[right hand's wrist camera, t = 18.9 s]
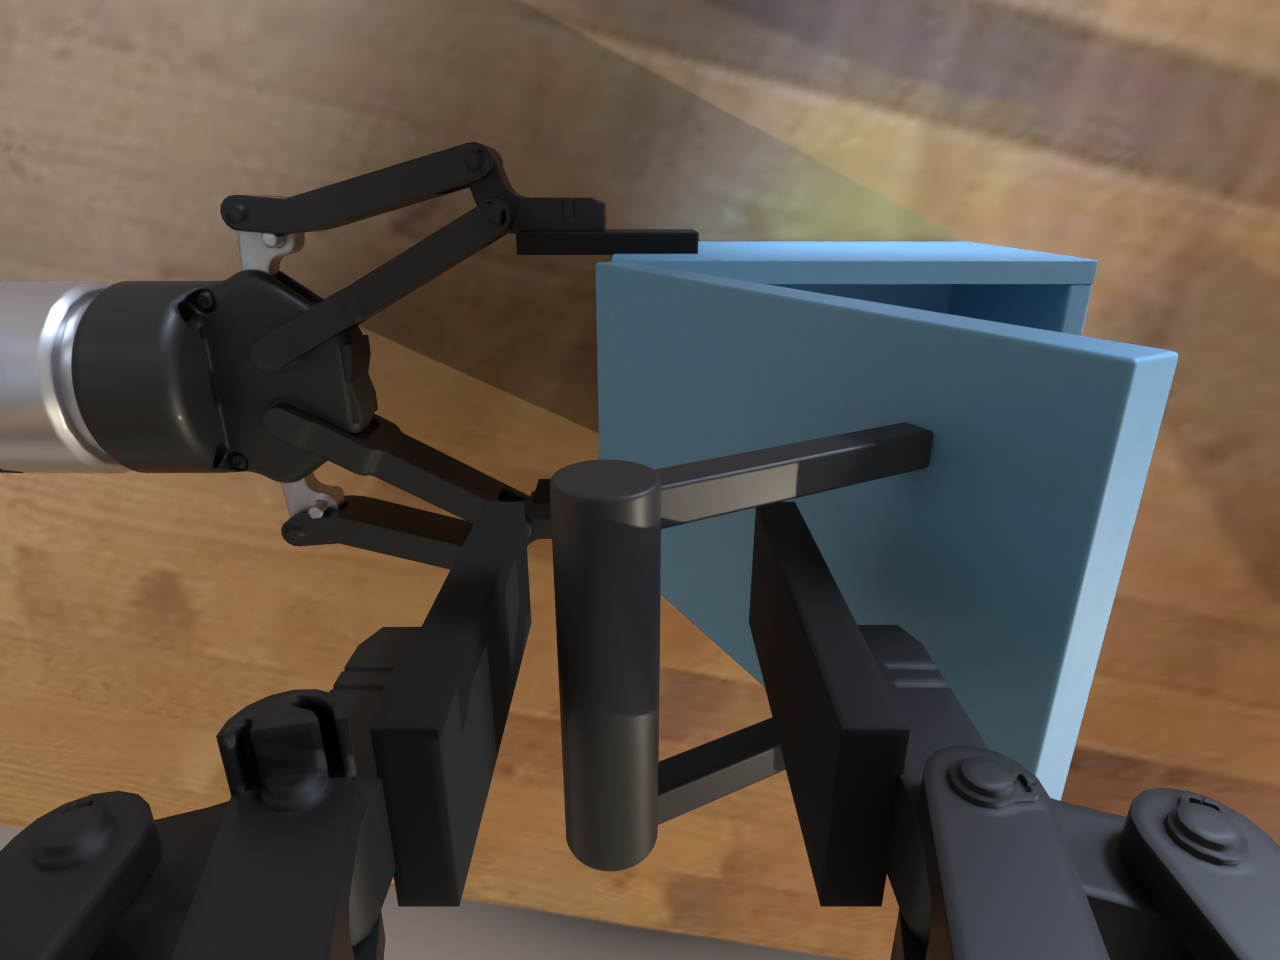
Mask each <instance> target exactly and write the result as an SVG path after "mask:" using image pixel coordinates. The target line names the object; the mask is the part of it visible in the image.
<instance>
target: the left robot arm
mask: <svg viewBox="0 0 1280 960" xmlns="http://www.w3.org/2000/svg"><path fill="white" fill-rule="evenodd" d="M469 187H470V190H471V192H472V195H473V197H474V199H475V202H476V204H477V207H475V208H474V209H472V210H471V211H469V212H467V213H466V214H464V215H462V216H461V217H459V218H458V219H456V220H454V221H453V222H451V223H450V224H448V225H446V226H445V227H443V228H441V229H440V230H438V231H437V232H435V233H433V234H432V235H430V236H429V237H427V238H425V239H424V240H422V241H421V242H419V243H417V244H416V245H414V246H412V247H411V248H409V249H408V250H406V251H404V252H403V253H401V254H400V255H398V256H396V257H395V258H393V259H391V260H390V261H388V262H387V263H385V264H383V265H382V266H380V267H379V268H377V269H375V270H374V271H372V272H371V273H369V274H367V275H366V276H364V277H362V278H361V279H359V280H358V281H356V282H354V283H353V284H351V285H350V286H348V287H346V288H344V289H342V290H340V291H338V292H336V293H335V294H333V295H331V296H329V297H328V298H326V299H325V300H324V299H322V298H321V297H319V296H318V295H316V294H315V293H313V292H312V291H310V290H309V289H307V288H306V287H304V286H303V285H301V284H300V283H298V282H297V281H295V280H294V279H292V278H291V277H289V276H288V275H286V274H284V273H283V272H281V271H279V264H280V261H281V260H282V258H283V257H284V256H286V255H288V254H292V253H297V252H298V251H300V250H301V249H302V248H303V246H304V243H305V234H304V232H313V231H321V230H328V229H332V228H336V227H340V226H343V225H346V224H350V223H353V222H356V221H360V220H363V219H366V218H370V217H373V216H376V215H379V214H383V213H386V212H389V211H393V210H396V209H399V208H403V207H406V206H409V205H413V204H416V203H419V202H423V201H426V200H429V199H433V198H436V197H439V196H442V195H446V194H449V193H452V192H456V191H459V190H462V189H466V188H469ZM220 212H221V215H222V219H223V220H224V221H225V223H226V224H227V225H228V226H229V227H231V228H232V229H234V230H238V240H239V249H240V258H241V267H242V271H240V272H238V273H236V274H235V275H233V276H232V277H230V278H229V279H227V280H225V281H126V282H120V283H116V284H113V285H112V284H108V283H105V282H101V281H31V282H0V473H4V472H5V473H24V472H31V473H125V472H128V471H130V470H133V471H137V472H143V473H226V472H242V471H248V472H254V473H258V474H261V475H264V476H266V477H268V478H270V479H272V480H274V481H278V482H281V484H282V488H283V491H284V495H285V499H286V502H287V506H288V510H289V513H290V519H289V520H288V521H287V522H286V523H285V524H283V526H282V529H281V532H282V536H283V538H284V540H286V541H287V542H288V543H289V544H291V545H293V546H309V545H322V544H336V543H340V544H344V545H349V546H353V547H357V548H361V549H366V550H370V551H374V552H378V553H383V554H387V555H391V556H395V557H400V558H404V559H408V560H412V561H417V562H421V563H425V564H429V565H433V566H438V567H442V568H446V569H450V570H451V568H452V566H453V564H454V562H455V560H456V558H457V556H458V554H459V552H460V550H461V548H462V546H463V544H464V542H465V540H466V538H467V536H468V534H469V532H470V530H471V528H472V526H473V524H474V522H475V520H476V519H477V517H478V515H479V513H480V511H481V509H482V507H483V505H484V503H485V502H524V511H525V527H526V543H527V546H528V545H529V544H530V543H531V542H533V541H534V540H537V539H552V524H551V502H550V481H551V479H539V481H538V484H537V487H536V490H535V492H534V491H532V494H531V495H530V496H528V495H526V494H524V493H522V492H520V491H518V490H516V489H514V488H512V487H510V486H508V485H506V484H504V483H502V482H500V481H498V480H496V479H494V478H492V477H490V476H488V475H486V474H484V473H482V472H480V471H478V470H476V469H474V468H472V467H470V466H468V465H466V464H464V463H462V462H460V461H458V460H456V459H454V458H452V457H450V456H448V455H446V454H444V453H442V452H440V451H438V450H436V449H434V448H432V447H430V446H428V445H426V444H424V443H422V442H420V441H418V440H416V439H414V438H412V437H410V436H408V435H406V434H404V433H402V432H401V431H400V429H399V427H398V426H397V425H395V424H394V423H392V422H390V421H388V420H386V419H384V418H382V417H380V416H378V415H376V414H374V412H375V411H376V410H377V409H378V406H377V399H376V391H375V389H374V386H373V384H372V382H371V379H370V377H369V374H368V369H369V362H370V355H371V353H370V345H369V338H368V335H363V334H362V332H361V330H360V328H359V327H358V325H359V324H361V323H362V322H364V321H366V320H367V319H369V318H371V317H372V316H374V315H376V314H377V313H379V312H380V311H382V310H384V309H385V308H386V307H388V306H389V305H391V304H393V303H394V302H396V301H398V300H399V299H401V298H403V297H404V296H406V295H408V294H409V293H411V292H412V291H414V290H416V289H417V288H419V287H421V286H422V285H424V284H426V283H427V282H429V281H431V280H432V279H434V278H436V277H437V276H439V275H440V274H442V273H444V272H445V271H447V270H449V269H450V268H452V267H454V266H455V265H457V264H459V263H460V262H462V261H464V260H465V259H467V258H468V257H470V256H472V255H473V254H475V253H477V252H478V251H480V250H482V249H483V248H485V247H487V246H488V245H490V244H491V243H493V242H495V241H496V240H498V239H500V238H501V237H503V236H505V235H506V234H508V233H516V245H517V255H614V254H698V232H696V231H695V230H693V229H626V230H606V211H605V203H603V202H601V201H598V200H596V199H594V198H528V197H524V196H521V195H519V194H518V193H517V192H515V190H514V189H513V188H512V187H511V185H510V183H509V180H508V178H507V175H506V173H505V170H504V168H503V163H502V158H501V156H500V154H499V153H498V152H497V151H496V150H495V149H493V148H490V147H488V146H485V145H482V144H479V143H476V142H471V143H466V144H462V145H459V146H456V147H453V148H449V149H446V150H443V151H440V152H436V153H433V154H430V155H427V156H423V157H420V158H417V159H414V160H410V161H407V162H404V163H401V164H397V165H394V166H391V167H387V168H384V169H381V170H378V171H374V172H371V173H368V174H365V175H361V176H358V177H355V178H352V179H348V180H345V181H342V182H339V183H335V184H332V185H329V186H326V187H322V188H319V189H316V190H313V191H309V192H306V193H303V194H300V195H296V196H293V197H283V196H271V195H233V196H228V197H227V198H225V199H224V200H223V202H222V204H221V211H220ZM326 461H330V462H333V463H335V464H337V465H339V466H341V467H343V468H345V469H347V470H349V471H351V472H353V473H356V474H358V475H363V476H365V475H371V476H375V477H377V478H379V479H381V480H383V481H385V482H388V483H390V484H392V485H394V486H396V487H398V488H400V489H402V490H404V491H406V492H408V493H410V494H412V495H414V496H417V497H419V498H421V499H423V500H425V501H427V502H429V503H431V504H433V505H435V506H437V507H439V508H441V509H443V510H446V511H448V512H450V513H452V514H454V515H456V516H458V517H460V518H462V519H464V520H461V519H457V518H453V517H449V516H445V515H440V514H436V513H432V512H428V511H424V510H420V509H416V508H412V507H408V506H403V505H399V504H395V503H391V502H387V501H383V500H379V499H375V498H370V497H364V496H354V495H350V496H344V495H343V494H344V492H343V489H342V488H340V487H339V486H330V485H325V484H323V483H321V482H319V481H318V480H317V479H316V478H315V476H314V474H313V471H315V470H316V469H317V468H318V467H320V466H321V465H322V464H324V463H325V462H326ZM465 520H466V521H465Z"/></svg>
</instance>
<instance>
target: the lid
mask: <svg viewBox="0 0 1280 960" xmlns="http://www.w3.org/2000/svg"><path fill="white" fill-rule="evenodd" d="M595 269H596V317H597V366H598V414H599V460H591V461H585V462H580V463H576V464H572V465H569V466H566V467H564V468H562V469H560V470H558V471H557V472H555V474H554V475H553V476H552V478H551V481H550V502H551V524H552V545H553V566H554V587H555V608H556V630H557V651H558V672H559V693H560V715H561V736H562V757H563V778H564V799H565V821H566V838H567V843H568V846H569V848H570V850H571V851H572V853H573V854H574V856H575V857H576V858H577V859H578V860H579V861H581V862H582V863H583V864H585V865H586V866H589V867H591V868H594V869H597V870H601V871H619V870H624V869H628V868H630V867H633V866H635V865H636V864H638V863H640V862H641V861H642V860H644V859H645V858H646V857H647V856H648V854H649V853H650V852H651V850H652V848H653V847H654V845H655V842H656V839H657V832H658V825H659V824H661V823H663V822H666V821H668V820H670V819H673V818H675V817H677V816H680V815H682V814H684V813H686V812H689V811H691V810H693V809H696V808H698V807H700V806H703V805H705V804H707V803H710V802H712V801H714V800H716V799H719V798H721V797H723V796H726V795H728V794H730V793H733V792H735V791H737V790H739V789H742V788H744V787H746V786H749V785H751V784H753V783H756V782H758V781H760V780H762V779H765V778H767V777H769V776H772V775H774V774H776V773H779V772H781V771H783V770H785V769H786V767H785V764H784V760H783V756H782V752H781V748H780V744H779V740H778V736H777V732H776V728H775V724H774V720H773V717H772V718H770V719H767V720H764V721H762V722H759V723H757V724H754V725H752V726H749V727H747V728H744V729H741V730H739V731H736V732H734V733H731V734H729V735H726V736H724V737H721V738H718V739H716V740H713V741H711V742H708V743H706V744H703V745H701V746H698V747H695V748H693V749H690V750H688V751H685V752H683V753H680V754H678V755H675V756H672V757H670V758H667V759H665V760H662V761H660V762H658V750H659V665H660V594H661V595H662V596H663V597H664V598H666V599H667V600H668V601H669V602H670V603H671V604H672V605H673V606H674V607H676V608H677V609H678V610H679V611H680V612H681V613H682V614H683V615H685V616H686V617H687V618H688V619H689V620H690V621H691V622H692V623H693V624H695V625H696V626H697V627H698V628H699V629H700V630H701V631H702V632H704V633H705V634H706V635H707V636H708V637H709V638H710V639H711V640H712V641H714V642H715V643H716V644H717V645H718V646H719V647H720V648H721V649H723V650H724V651H725V652H726V653H727V654H728V655H729V656H730V657H731V658H733V659H734V660H735V661H736V662H737V663H738V664H739V665H740V666H742V667H743V668H744V669H745V670H746V671H747V672H748V673H749V674H750V675H752V676H753V677H754V678H755V679H756V680H757V681H758V682H759V683H761V684H762V685H763V686H764V687H765V685H764V681H763V677H762V673H761V669H760V665H759V661H758V657H757V653H756V650H755V646H754V642H753V638H752V634H751V630H750V626H749V609H750V592H751V576H752V560H753V543H754V527H755V511H756V507H760V506H764V505H769V504H773V503H777V502H795V503H796V505H797V507H798V509H799V511H800V513H801V515H802V517H803V519H804V520H805V522H806V524H807V526H808V528H809V530H810V532H811V534H812V536H813V538H814V540H815V542H816V544H817V546H818V548H819V550H820V552H821V554H822V556H823V558H824V560H825V562H826V564H827V566H828V568H829V570H830V572H831V574H832V576H833V578H834V580H835V582H836V584H837V586H838V588H839V590H840V592H841V594H842V596H843V598H844V600H845V602H846V604H847V605H848V607H849V609H850V611H851V613H852V615H853V617H854V619H855V621H856V623H857V625H898V626H900V627H901V628H902V629H904V630H905V631H906V632H908V633H909V634H910V635H912V636H913V637H914V638H916V639H917V640H918V641H920V642H921V643H922V644H923V645H924V647H925V649H926V650H927V652H928V653H929V655H930V657H931V658H932V660H933V661H934V663H935V665H936V669H939V671H940V672H941V674H942V676H943V677H944V679H945V680H946V682H947V687H950V688H951V690H952V692H953V693H954V695H955V696H956V698H957V699H958V701H959V703H960V704H961V706H962V707H963V709H964V711H965V712H966V714H967V715H968V717H969V719H970V720H971V722H972V723H973V725H974V726H975V728H976V730H977V731H978V733H979V734H980V736H981V738H982V739H983V741H984V742H985V744H986V746H987V747H988V749H989V750H993V751H996V752H999V753H1001V754H1003V755H1005V756H1007V757H1009V758H1011V759H1013V760H1015V761H1017V762H1019V763H1020V764H1021V765H1023V766H1024V767H1025V768H1026V769H1027V770H1029V771H1030V772H1031V773H1032V774H1033V775H1035V776H1036V777H1037V778H1038V779H1039V781H1040V782H1041V784H1042V786H1043V787H1044V789H1045V790H1046V792H1047V793H1048V795H1049V797H1050V798H1053V799H1056V800H1059V801H1061V797H1062V793H1063V789H1064V786H1065V782H1066V778H1067V774H1068V771H1069V767H1070V763H1071V759H1072V756H1073V752H1074V748H1075V744H1076V741H1077V737H1078V733H1079V729H1080V726H1081V722H1082V718H1083V714H1084V710H1085V707H1086V703H1087V699H1088V695H1089V692H1090V688H1091V684H1092V680H1093V677H1094V673H1095V669H1096V665H1097V662H1098V658H1099V654H1100V650H1101V647H1102V643H1103V639H1104V635H1105V632H1106V628H1107V624H1108V620H1109V616H1110V613H1111V609H1112V605H1113V601H1114V598H1115V594H1116V590H1117V586H1118V583H1119V579H1120V575H1121V571H1122V568H1123V564H1124V560H1125V556H1126V553H1127V549H1128V545H1129V541H1130V538H1131V534H1132V530H1133V526H1134V523H1135V519H1136V515H1137V511H1138V507H1139V504H1140V500H1141V496H1142V492H1143V489H1144V485H1145V481H1146V477H1147V474H1148V470H1149V466H1150V462H1151V459H1152V455H1153V451H1154V447H1155V444H1156V440H1157V436H1158V432H1159V429H1160V425H1161V421H1162V417H1163V414H1164V410H1165V406H1166V402H1167V398H1168V395H1169V391H1170V387H1171V383H1172V380H1173V376H1174V372H1175V368H1176V365H1177V361H1178V353H1176V352H1174V351H1171V350H1165V349H1159V348H1153V347H1147V346H1140V345H1134V344H1128V343H1122V342H1116V341H1110V340H1104V339H1098V338H1091V337H1085V336H1079V335H1073V334H1067V333H1061V332H1055V331H1049V330H1042V329H1036V328H1030V327H1024V326H1018V325H1012V324H1006V323H1000V322H993V321H987V320H981V319H975V318H969V317H963V316H957V315H951V314H944V313H938V312H932V311H926V310H920V309H914V308H908V307H902V306H895V305H889V304H883V303H877V302H871V301H865V300H859V299H852V298H846V297H840V296H834V295H828V294H822V293H816V292H810V291H803V290H797V289H791V288H785V287H779V286H773V285H767V284H761V283H754V282H748V281H742V280H736V279H730V278H724V277H718V276H712V275H705V274H699V273H693V272H687V271H681V270H675V269H669V268H663V267H656V266H650V265H644V264H638V263H632V262H626V261H618V262H598V263H596V265H595Z"/></svg>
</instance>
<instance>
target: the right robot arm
mask: <svg viewBox="0 0 1280 960" xmlns="http://www.w3.org/2000/svg"><path fill="white" fill-rule="evenodd" d="M530 626H531V609H530V592H529V576H528V560H527V543H526V527H525V511H524V502H485V503H484V505H483V507H482V509H481V511H480V513H479V515H478V517H477V519H476V520H475V522H474V524H473V526H472V528H471V530H470V532H469V534H468V536H467V538H466V540H465V542H464V544H463V546H462V548H461V550H460V552H459V554H458V556H457V558H456V560H455V562H454V564H453V566H452V568H451V570H450V572H449V574H448V576H447V578H446V580H445V582H444V584H443V586H442V588H441V590H440V592H439V594H438V596H437V598H436V600H435V602H434V604H433V605H432V607H431V609H430V611H429V613H428V615H427V617H426V619H425V621H424V623H423V625H422V627H382V628H381V629H380V630H378V631H377V632H376V633H374V634H373V635H372V636H370V637H369V638H368V639H366V640H365V641H364V642H362V643H361V644H360V645H359V646H358V647H357V648H356V650H355V652H354V653H353V655H352V656H351V658H350V660H349V661H348V663H347V664H346V666H345V671H344V672H341V674H340V676H339V677H338V679H337V680H336V682H335V684H334V685H333V690H330V692H329V693H328V692H324V691H321V690H317V689H311V690H292V691H287V692H283V693H279V694H275V695H271V696H268V697H266V698H264V699H262V700H259V701H257V702H255V703H253V704H250V705H248V706H246V707H245V708H244V709H242V710H241V711H240V712H238V713H237V714H236V715H234V716H233V717H231V718H230V719H229V720H228V721H227V722H226V723H225V725H224V726H223V727H222V729H221V730H220V732H219V733H218V734H217V736H216V737H217V741H218V745H219V749H220V753H221V757H222V761H223V765H224V769H225V773H226V776H227V780H228V784H229V788H230V792H231V799H230V801H228V802H224V803H221V804H218V805H215V806H211V807H208V808H204V809H200V810H195V811H191V812H187V813H183V814H178V815H174V816H170V817H166V818H161V819H157V820H154V819H153V815H152V812H151V809H150V806H149V804H148V803H147V802H146V801H145V800H144V799H143V798H142V797H140V796H139V795H138V794H133V793H128V792H122V791H114V792H106V793H98V794H92V795H89V796H86V797H83V798H80V799H77V800H75V801H72V802H69V803H66V804H64V805H62V806H60V807H58V808H56V809H54V810H53V811H51V812H49V813H47V814H45V815H43V816H42V817H40V818H38V819H36V820H35V821H34V822H33V823H31V824H30V825H29V826H28V827H27V828H25V829H24V830H23V831H22V832H20V833H19V834H18V835H17V836H15V837H14V838H13V839H12V840H11V841H10V842H9V843H8V844H7V845H6V846H5V847H4V848H3V849H2V850H1V851H0V960H383V959H384V948H385V933H384V926H383V919H382V914H381V909H382V906H383V903H384V900H385V898H386V895H387V892H388V889H389V886H390V884H391V881H392V878H393V875H394V881H395V887H396V894H397V900H398V906H459V905H460V901H461V897H462V893H463V889H464V885H465V882H466V878H467V874H468V870H469V866H470V862H471V858H472V854H473V850H474V846H475V842H476V838H477V834H478V830H479V826H480V823H481V819H482V815H483V811H484V807H485V803H486V799H487V795H488V791H489V787H490V783H491V779H492V775H493V771H494V767H495V764H496V760H497V756H498V752H499V748H500V744H501V740H502V736H503V732H504V728H505V724H506V720H507V716H508V712H509V709H510V705H511V701H512V697H513V693H514V689H515V685H516V681H517V677H518V673H519V669H520V665H521V661H522V657H523V653H524V650H525V646H526V642H527V638H528V634H529V630H530ZM749 626H750V630H751V634H752V638H753V642H754V646H755V650H756V653H757V657H758V661H759V665H760V669H761V673H762V677H763V681H764V685H765V689H766V693H767V697H768V701H769V705H770V709H771V712H772V716H773V720H774V724H775V728H776V732H777V736H778V740H779V744H780V748H781V752H782V756H783V760H784V764H785V767H786V771H787V775H788V779H789V783H790V787H791V791H792V795H793V799H794V803H795V807H796V811H797V815H798V819H799V823H800V826H801V830H802V834H803V838H804V842H805V846H806V850H807V854H808V858H809V862H810V866H811V870H812V874H813V878H814V882H815V885H816V889H817V893H818V897H819V901H820V905H821V906H882V900H883V894H884V887H885V881H886V875H888V877H889V880H890V883H891V886H892V888H893V891H894V894H895V897H896V899H897V902H898V905H899V914H898V919H897V925H896V931H895V936H894V942H893V948H892V954H891V959H890V960H1280V847H1279V846H1278V845H1277V844H1276V843H1275V842H1274V841H1273V840H1272V839H1271V838H1270V837H1269V836H1268V835H1267V834H1266V833H1265V832H1264V831H1262V830H1261V829H1260V828H1259V827H1257V826H1256V825H1255V824H1254V823H1252V822H1251V821H1250V820H1249V819H1248V818H1246V817H1245V816H1244V815H1242V814H1240V813H1238V812H1236V811H1234V810H1232V809H1231V808H1229V807H1227V806H1225V805H1223V804H1221V803H1220V802H1218V801H1216V800H1213V799H1210V798H1207V797H1204V796H1201V795H1198V794H1195V793H1192V792H1189V791H1184V790H1176V789H1168V788H1159V789H1153V790H1148V791H1143V792H1142V793H1140V794H1139V795H1138V796H1137V797H1136V798H1135V799H1134V800H1133V801H1132V802H1131V806H1130V809H1129V812H1128V815H1127V817H1123V816H1119V815H1115V814H1110V813H1106V812H1102V811H1098V810H1093V809H1089V808H1085V807H1081V806H1076V805H1072V804H1069V803H1066V802H1062V801H1059V800H1056V799H1053V798H1050V797H1049V795H1048V793H1047V792H1046V790H1045V789H1044V787H1043V786H1042V784H1041V782H1040V781H1039V779H1038V778H1037V777H1036V776H1035V775H1033V774H1032V773H1031V772H1030V771H1029V770H1027V769H1026V768H1025V767H1024V766H1023V765H1021V764H1020V763H1019V762H1017V761H1015V760H1013V759H1011V758H1009V757H1007V756H1005V755H1003V754H1001V753H999V752H996V751H993V750H989V749H988V747H987V746H986V744H985V742H984V741H983V739H982V738H981V736H980V734H979V733H978V731H977V730H976V728H975V726H974V725H973V723H972V722H971V720H970V719H969V717H968V715H967V714H966V712H965V711H964V709H963V707H962V706H961V704H960V703H959V701H958V699H957V698H956V696H955V695H954V693H953V692H952V690H951V688H950V687H947V682H946V680H945V679H944V677H943V676H942V674H941V672H940V671H939V669H936V665H935V663H934V661H933V660H932V658H931V657H930V655H929V653H928V652H927V650H926V649H925V647H924V645H923V644H922V643H921V642H920V641H918V640H917V639H916V638H914V637H913V636H912V635H910V634H909V633H908V632H906V631H905V630H904V629H902V628H901V627H900V626H898V625H857V623H856V621H855V619H854V617H853V615H852V613H851V611H850V609H849V607H848V605H847V604H846V602H845V600H844V598H843V596H842V594H841V592H840V590H839V588H838V586H837V584H836V582H835V580H834V578H833V576H832V574H831V572H830V570H829V568H828V566H827V564H826V562H825V560H824V558H823V556H822V554H821V552H820V550H819V548H818V546H817V544H816V542H815V540H814V538H813V536H812V534H811V532H810V530H809V528H808V526H807V524H806V522H805V520H804V519H803V517H802V515H801V513H800V511H799V509H798V507H797V505H796V503H795V502H777V503H773V504H769V505H764V506H760V507H756V511H755V527H754V543H753V560H752V576H751V592H750V609H749Z"/></svg>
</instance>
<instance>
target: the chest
mask: <svg viewBox="0 0 1280 960" xmlns="http://www.w3.org/2000/svg"><path fill="white" fill-rule="evenodd" d="M618 261H626V262H632V263H638V264H644V265H650V266H656V267H663V268H669V269H675V270H681V271H687V272H693V273H699V274H705V275H712V276H718V277H724V278H730V279H736V280H742V281H748V282H754V283H761V284H767V285H773V286H779V287H785V288H791V289H797V290H803V291H810V292H816V293H822V294H828V295H834V296H840V297H846V298H852V299H859V300H865V301H871V302H877V303H883V304H889V305H895V306H902V307H908V308H914V309H920V310H926V311H932V312H938V313H944V314H951V315H957V316H963V317H969V318H975V319H981V320H987V321H993V322H1000V323H1006V324H1012V325H1018V326H1024V327H1030V328H1036V329H1042V330H1049V331H1055V332H1061V333H1067V334H1073V335H1079V336H1082V331H1083V326H1084V322H1085V317H1086V312H1087V308H1088V303H1089V299H1090V294H1091V289H1092V285H1090V284H1093V282H1094V278H1095V273H1096V269H1097V264H1098V261H1097V260H1093V259H1086V258H1079V257H1072V256H1065V255H1058V254H1051V253H1044V252H1037V251H1030V250H1023V249H1016V248H1009V247H1002V246H995V245H988V244H981V243H972V242H698V254H614V255H613V257H612V260H611V262H618Z"/></svg>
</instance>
